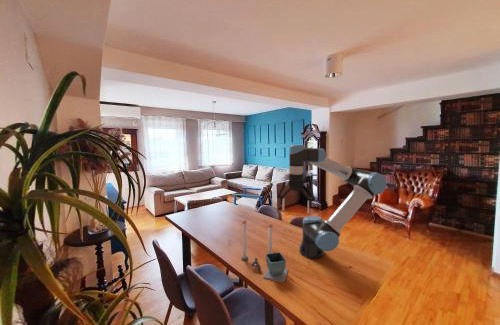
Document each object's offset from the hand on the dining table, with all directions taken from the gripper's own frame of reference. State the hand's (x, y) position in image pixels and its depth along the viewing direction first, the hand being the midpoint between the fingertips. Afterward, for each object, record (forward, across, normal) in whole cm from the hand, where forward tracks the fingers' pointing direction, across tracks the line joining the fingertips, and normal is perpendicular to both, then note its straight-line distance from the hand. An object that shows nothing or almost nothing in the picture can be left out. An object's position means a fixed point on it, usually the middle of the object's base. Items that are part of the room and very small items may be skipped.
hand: (295, 211), depth 118 cm
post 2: (+33, -14, -1) cm, 36 cm away
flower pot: (+32, -9, -9) cm, 35 cm away
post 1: (+33, -30, -1) cm, 44 cm away
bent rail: (+33, -20, -6) cm, 39 cm away
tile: (+33, -8, -10) cm, 35 cm away
